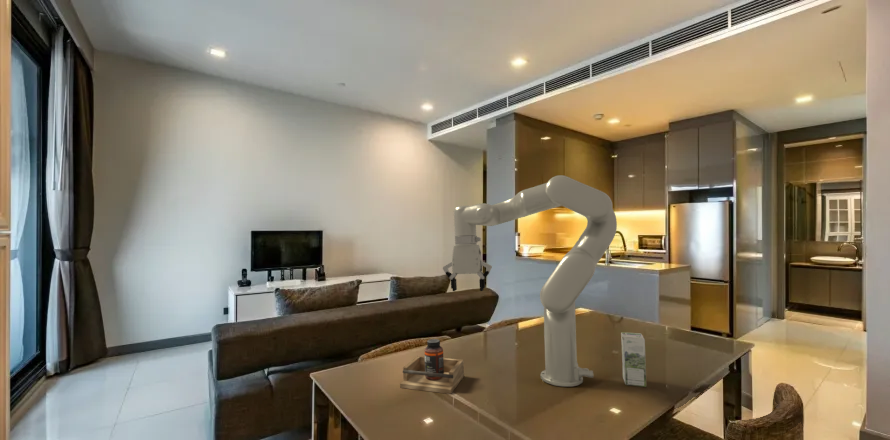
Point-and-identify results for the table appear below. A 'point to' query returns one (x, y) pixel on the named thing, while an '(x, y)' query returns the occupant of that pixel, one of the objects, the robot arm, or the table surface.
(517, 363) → the table surface
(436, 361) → the supplement bottle
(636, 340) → the syrup box
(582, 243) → the robot arm
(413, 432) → the table surface
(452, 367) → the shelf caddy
